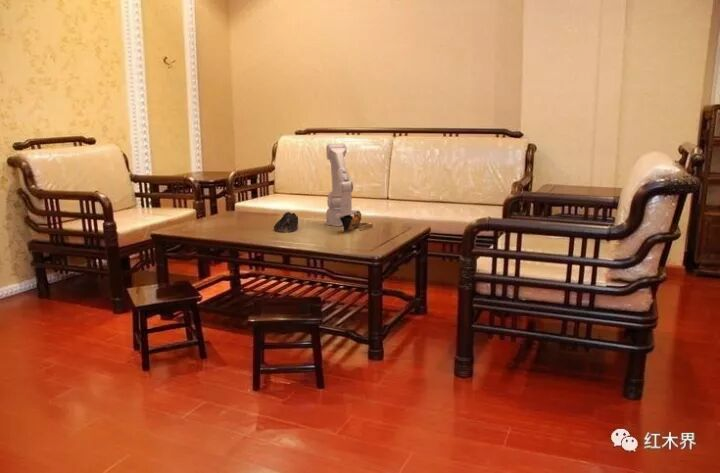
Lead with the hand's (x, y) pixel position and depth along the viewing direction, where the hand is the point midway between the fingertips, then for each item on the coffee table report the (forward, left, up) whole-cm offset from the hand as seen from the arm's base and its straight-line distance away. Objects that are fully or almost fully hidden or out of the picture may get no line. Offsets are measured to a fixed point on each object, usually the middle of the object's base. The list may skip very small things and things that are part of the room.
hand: (346, 229), depth 303 cm
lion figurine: (-2, +8, -1) cm, 8 cm away
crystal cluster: (-29, -15, -1) cm, 32 cm away
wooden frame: (0, +11, -1) cm, 11 cm away
